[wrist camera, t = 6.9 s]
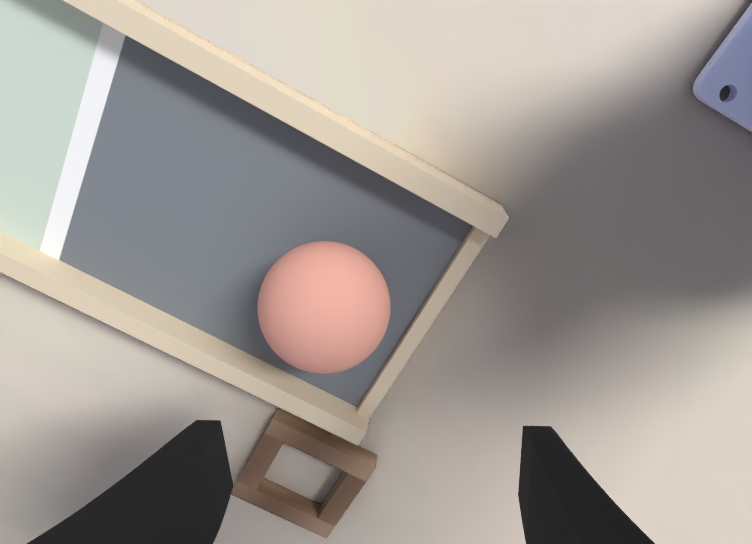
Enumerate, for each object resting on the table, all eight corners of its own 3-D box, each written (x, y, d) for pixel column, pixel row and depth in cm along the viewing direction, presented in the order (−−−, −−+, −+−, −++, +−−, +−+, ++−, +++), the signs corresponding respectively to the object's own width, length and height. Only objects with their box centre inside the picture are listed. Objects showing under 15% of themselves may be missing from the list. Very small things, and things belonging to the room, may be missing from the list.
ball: (417, 284, 19) (418, 343, 15) (335, 353, 21) (315, 425, 16) (332, 199, 18) (309, 238, 14) (253, 278, 20) (209, 333, 16)
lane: (501, 205, 18) (518, 234, 15) (362, 418, 22) (352, 478, 19) (-150, -159, 16) (-301, -220, 13) (-176, 152, 20) (-296, 169, 17)
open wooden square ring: (376, 455, 23) (375, 468, 22) (329, 524, 25) (326, 538, 24) (278, 407, 23) (273, 418, 22) (236, 481, 24) (230, 494, 24)
